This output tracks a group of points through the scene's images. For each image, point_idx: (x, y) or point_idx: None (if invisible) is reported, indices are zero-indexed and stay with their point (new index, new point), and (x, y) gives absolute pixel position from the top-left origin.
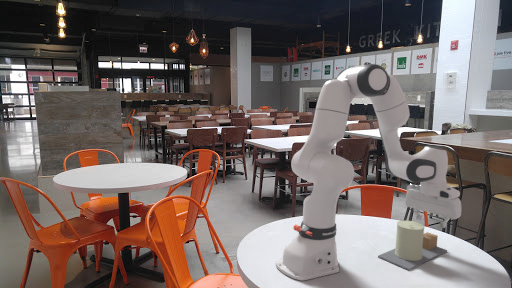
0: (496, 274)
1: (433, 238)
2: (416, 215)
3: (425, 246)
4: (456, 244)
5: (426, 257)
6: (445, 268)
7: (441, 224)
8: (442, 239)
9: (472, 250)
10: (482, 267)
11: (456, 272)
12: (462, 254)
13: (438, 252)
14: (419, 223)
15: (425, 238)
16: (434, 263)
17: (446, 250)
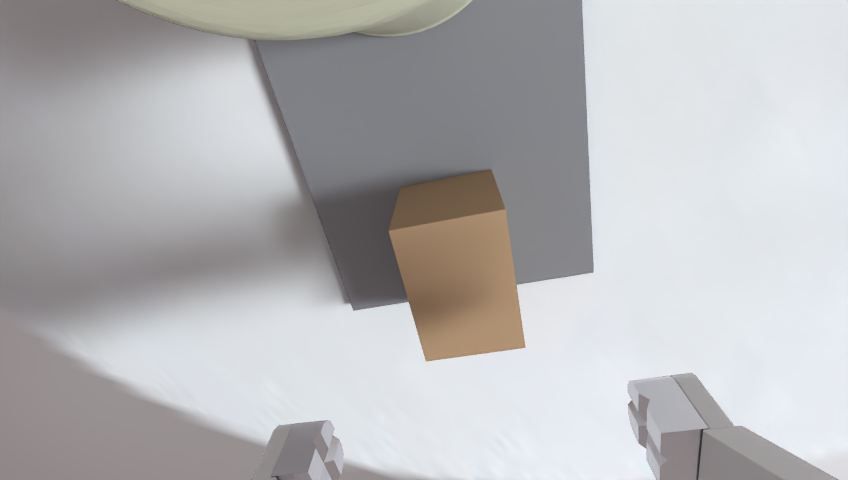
0: (21, 293)
1: (409, 294)
2: (726, 429)
3: (428, 189)
4: (419, 427)
5: None
6: (107, 46)
7: (294, 451)
8: (510, 420)
9: None
10: (112, 301)
11: (37, 72)
12: (294, 348)
13: (340, 223)
14: (263, 16)
15: (432, 219)
16: (203, 35)
17: (350, 301)
